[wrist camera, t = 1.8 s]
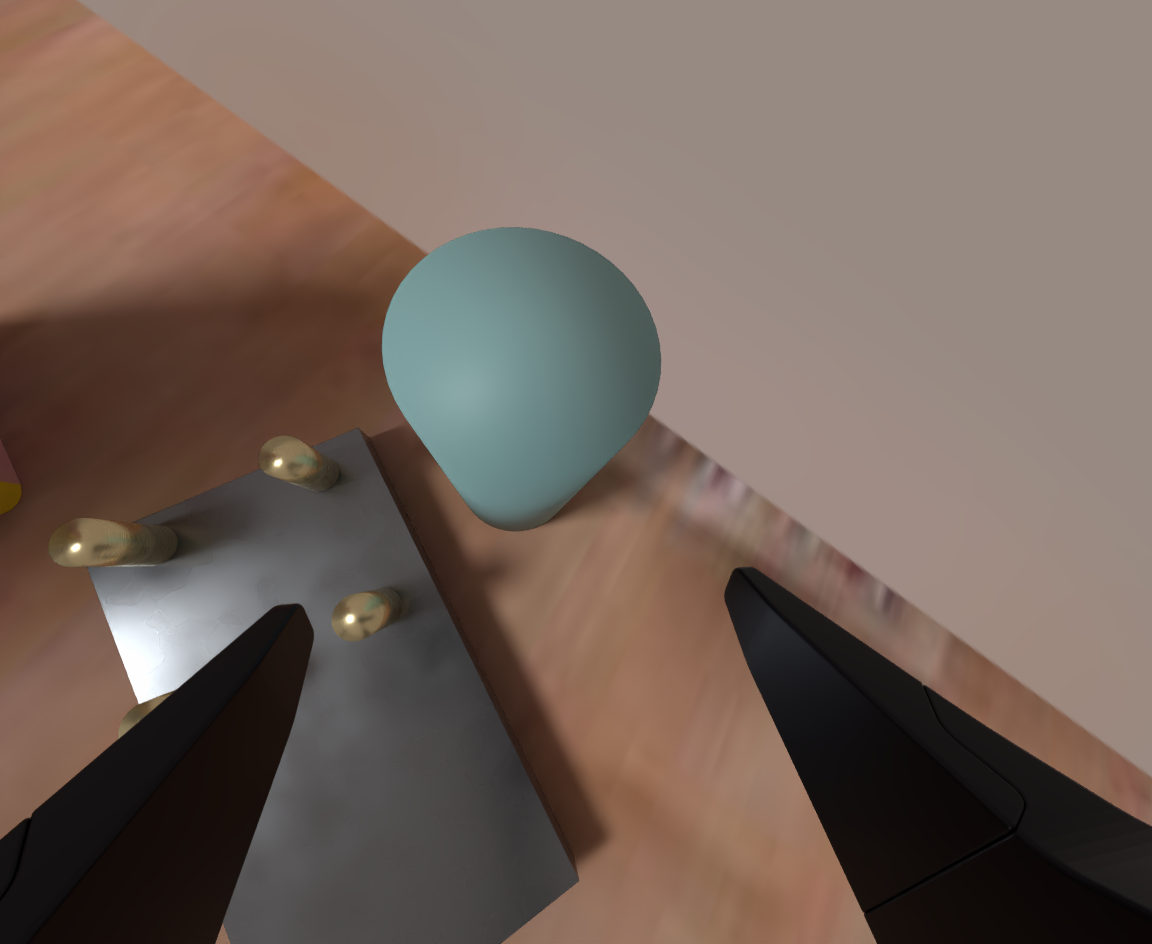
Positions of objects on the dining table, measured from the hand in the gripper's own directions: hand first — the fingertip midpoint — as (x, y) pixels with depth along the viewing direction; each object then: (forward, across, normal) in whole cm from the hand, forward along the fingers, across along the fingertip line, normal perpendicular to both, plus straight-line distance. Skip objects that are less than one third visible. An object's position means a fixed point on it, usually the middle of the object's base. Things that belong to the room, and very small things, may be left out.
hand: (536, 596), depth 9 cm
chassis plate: (+5, +8, +11) cm, 15 cm away
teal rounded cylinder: (+12, 0, +5) cm, 13 cm away
